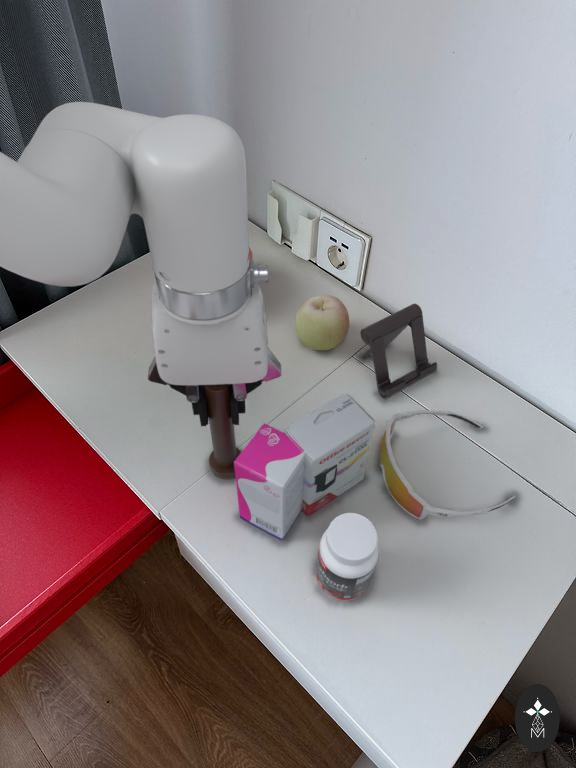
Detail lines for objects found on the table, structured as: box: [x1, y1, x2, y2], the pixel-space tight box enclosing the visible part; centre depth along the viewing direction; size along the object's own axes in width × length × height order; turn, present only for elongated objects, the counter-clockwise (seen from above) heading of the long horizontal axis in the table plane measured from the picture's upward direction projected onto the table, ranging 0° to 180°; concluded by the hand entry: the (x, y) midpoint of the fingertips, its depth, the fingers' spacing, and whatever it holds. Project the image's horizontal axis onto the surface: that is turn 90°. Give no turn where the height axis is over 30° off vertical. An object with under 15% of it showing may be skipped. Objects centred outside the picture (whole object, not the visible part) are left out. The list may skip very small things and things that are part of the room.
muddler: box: [204, 384, 242, 480], centre depth 62 cm, size 4×4×16 cm
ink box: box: [284, 393, 376, 517], centre depth 63 cm, size 9×5×12 cm, turn 126°
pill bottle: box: [315, 512, 380, 602], centre depth 56 cm, size 6×6×10 cm
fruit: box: [294, 294, 350, 351], centre depth 79 cm, size 8×7×8 cm
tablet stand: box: [359, 302, 438, 400], centre depth 75 cm, size 9×8×8 cm
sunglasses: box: [379, 409, 516, 521], centre depth 67 cm, size 14×15×5 cm
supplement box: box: [234, 423, 306, 542], centre depth 60 cm, size 6×6×12 cm
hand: (220, 413), depth 60 cm, fingers closed on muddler, 2 cm apart
